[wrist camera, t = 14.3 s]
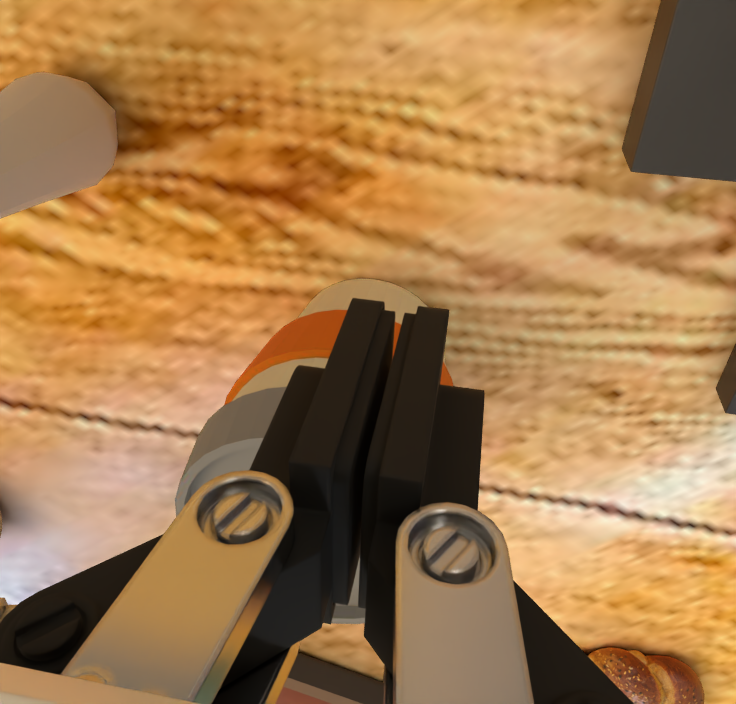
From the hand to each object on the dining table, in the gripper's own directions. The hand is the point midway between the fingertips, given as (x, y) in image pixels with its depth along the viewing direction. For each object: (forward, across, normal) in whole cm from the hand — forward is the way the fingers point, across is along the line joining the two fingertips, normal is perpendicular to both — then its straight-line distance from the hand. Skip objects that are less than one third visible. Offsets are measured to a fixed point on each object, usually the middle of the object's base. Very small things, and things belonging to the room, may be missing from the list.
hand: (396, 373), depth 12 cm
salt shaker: (+23, +20, +4) cm, 31 cm away
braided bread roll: (+23, -19, +47) cm, 56 cm away
